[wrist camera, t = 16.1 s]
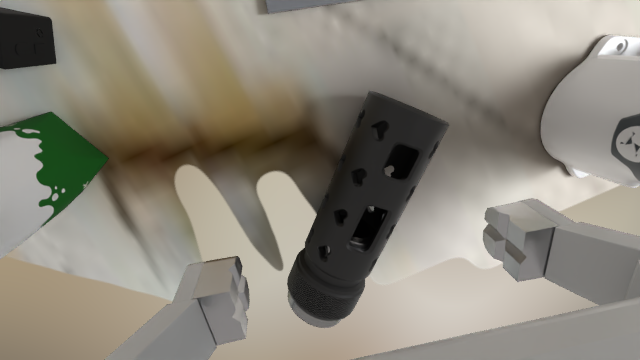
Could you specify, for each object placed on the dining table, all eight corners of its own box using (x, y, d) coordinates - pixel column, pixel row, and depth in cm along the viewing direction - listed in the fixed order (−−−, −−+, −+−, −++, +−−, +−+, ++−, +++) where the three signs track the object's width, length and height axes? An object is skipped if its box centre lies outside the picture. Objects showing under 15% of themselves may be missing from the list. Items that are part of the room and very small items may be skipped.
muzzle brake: (424, 110, 39) (470, 133, 30) (339, 281, 49) (354, 338, 39) (355, 83, 37) (383, 98, 27) (281, 268, 46) (282, 326, 37)
